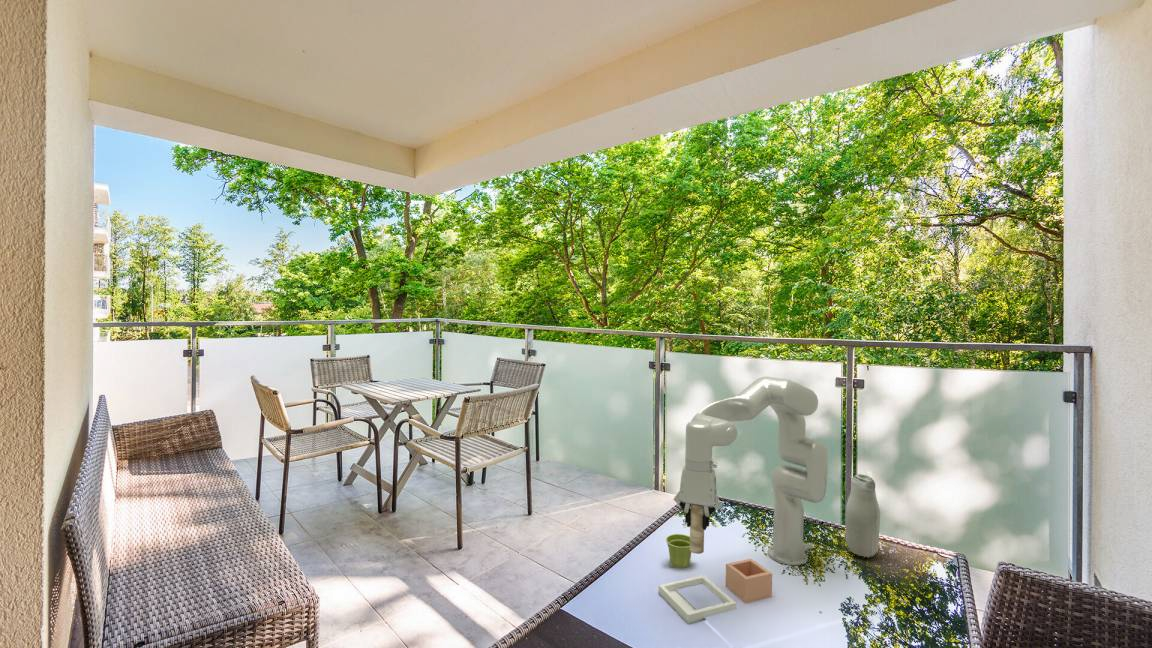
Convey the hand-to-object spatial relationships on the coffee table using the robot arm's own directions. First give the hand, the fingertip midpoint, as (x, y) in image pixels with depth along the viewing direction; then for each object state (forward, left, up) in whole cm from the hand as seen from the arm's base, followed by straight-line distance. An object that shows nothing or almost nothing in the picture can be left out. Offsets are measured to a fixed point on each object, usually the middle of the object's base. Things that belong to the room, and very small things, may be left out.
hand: (697, 526), depth 155 cm
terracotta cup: (-17, +2, -23) cm, 29 cm away
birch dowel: (0, 0, -7) cm, 7 cm away
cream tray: (0, 0, -23) cm, 23 cm away
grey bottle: (-70, -4, -23) cm, 74 cm away
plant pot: (-7, -20, -23) cm, 31 cm away
